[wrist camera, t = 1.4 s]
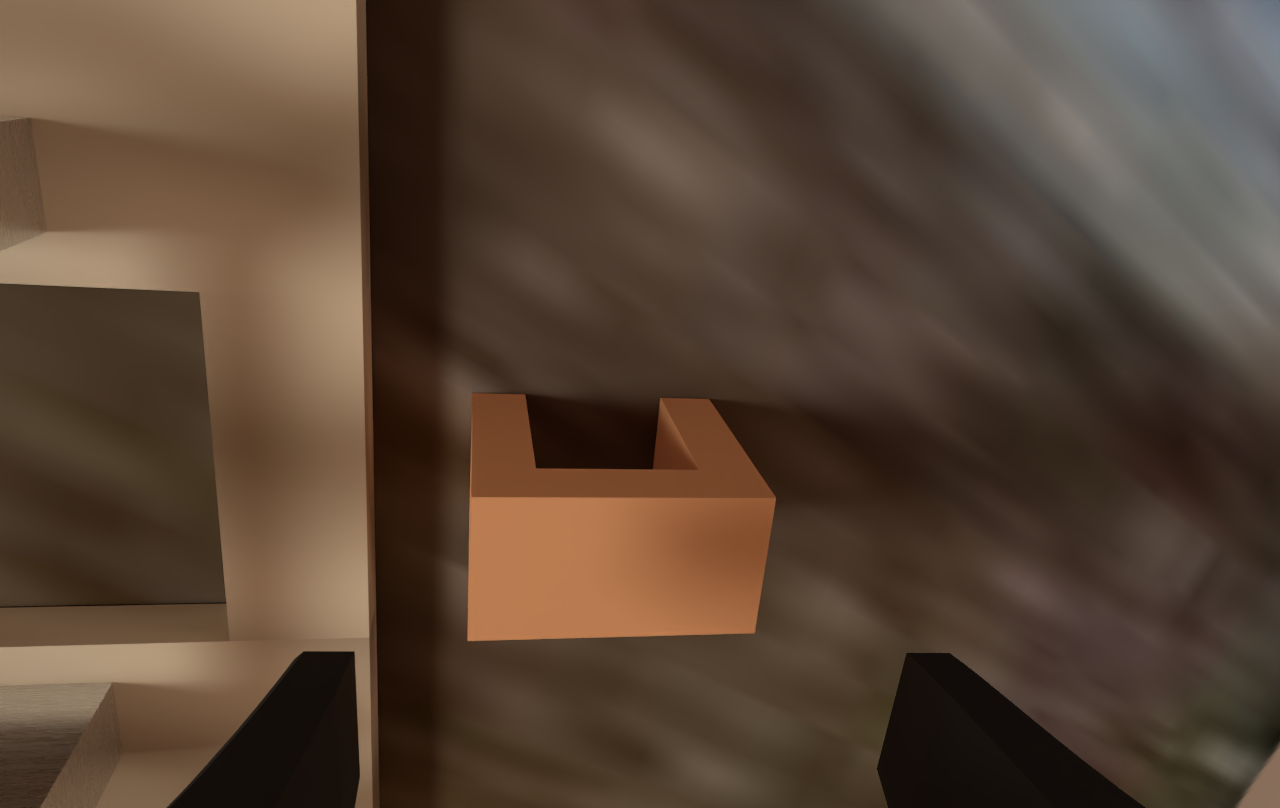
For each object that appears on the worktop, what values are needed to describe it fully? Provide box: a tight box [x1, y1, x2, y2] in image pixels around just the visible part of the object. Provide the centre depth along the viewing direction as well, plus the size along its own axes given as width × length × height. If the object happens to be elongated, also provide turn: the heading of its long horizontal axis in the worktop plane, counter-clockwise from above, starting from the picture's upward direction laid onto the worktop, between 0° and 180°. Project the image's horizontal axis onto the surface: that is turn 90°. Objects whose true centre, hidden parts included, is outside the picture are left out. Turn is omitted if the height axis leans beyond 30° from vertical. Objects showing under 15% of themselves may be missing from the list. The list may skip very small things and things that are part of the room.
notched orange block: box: [468, 393, 776, 641], centre depth 19 cm, size 3×6×5 cm, turn 85°
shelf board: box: [0, 0, 380, 808], centre depth 18 cm, size 24×14×2 cm, turn 175°
